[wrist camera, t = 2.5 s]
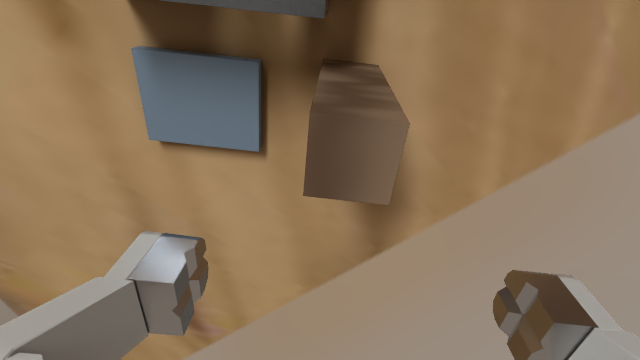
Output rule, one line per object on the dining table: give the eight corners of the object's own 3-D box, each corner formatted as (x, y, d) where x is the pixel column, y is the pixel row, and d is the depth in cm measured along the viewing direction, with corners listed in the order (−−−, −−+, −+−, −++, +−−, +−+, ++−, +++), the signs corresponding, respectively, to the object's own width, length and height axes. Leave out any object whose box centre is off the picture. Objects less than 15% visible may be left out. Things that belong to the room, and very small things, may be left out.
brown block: (378, 65, 23) (409, 123, 13) (368, 117, 25) (388, 205, 15) (323, 59, 23) (309, 112, 13) (318, 112, 25) (303, 196, 15)
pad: (261, 59, 23) (258, 62, 22) (261, 146, 27) (258, 151, 26) (139, 46, 23) (131, 48, 22) (155, 134, 27) (149, 139, 26)
